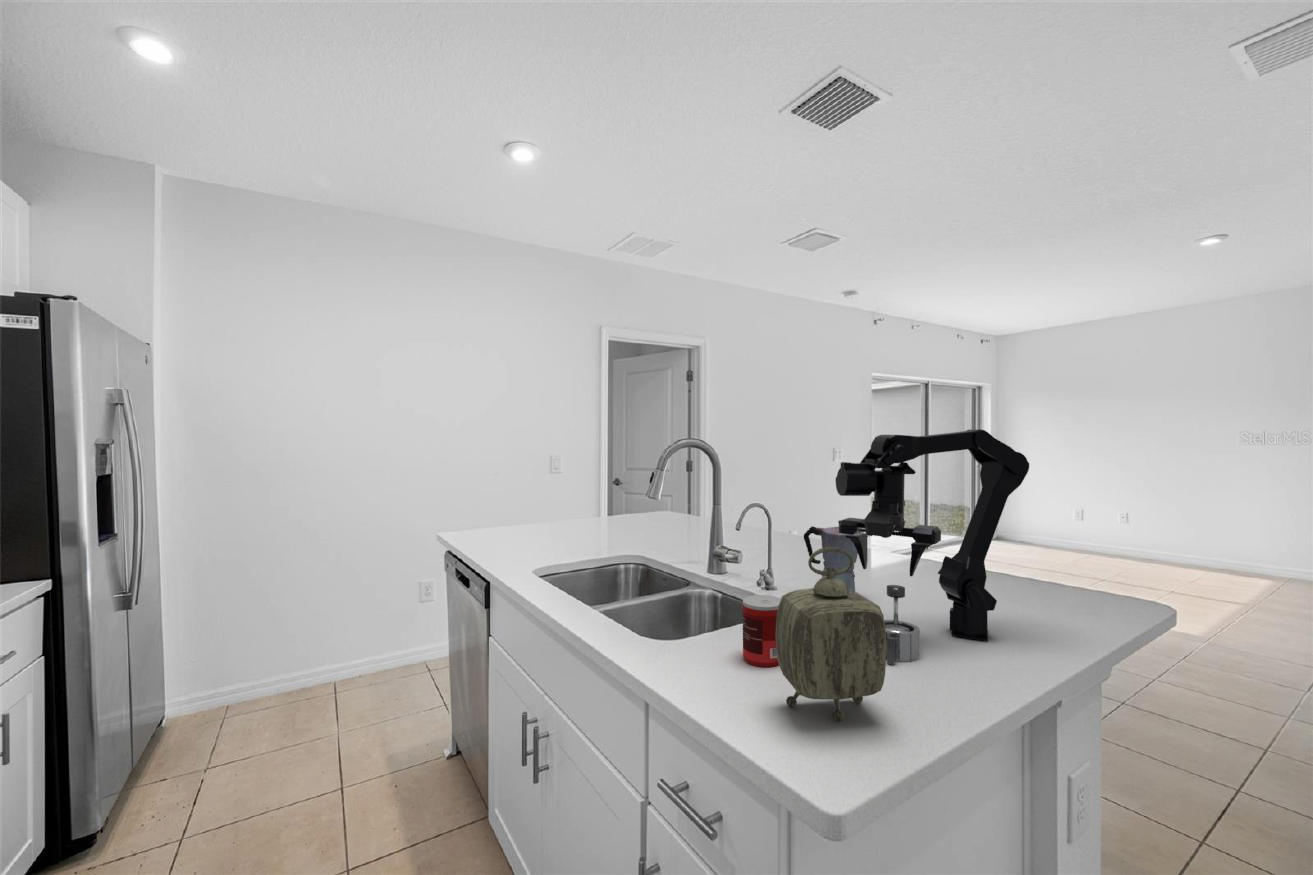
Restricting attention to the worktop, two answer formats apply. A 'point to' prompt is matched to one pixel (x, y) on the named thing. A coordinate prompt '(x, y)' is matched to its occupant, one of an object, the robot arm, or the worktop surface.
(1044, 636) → the worktop surface
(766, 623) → the canned food
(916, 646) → the press carafe
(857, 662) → the tabletop clock
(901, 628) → the plunger
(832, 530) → the moka pot
